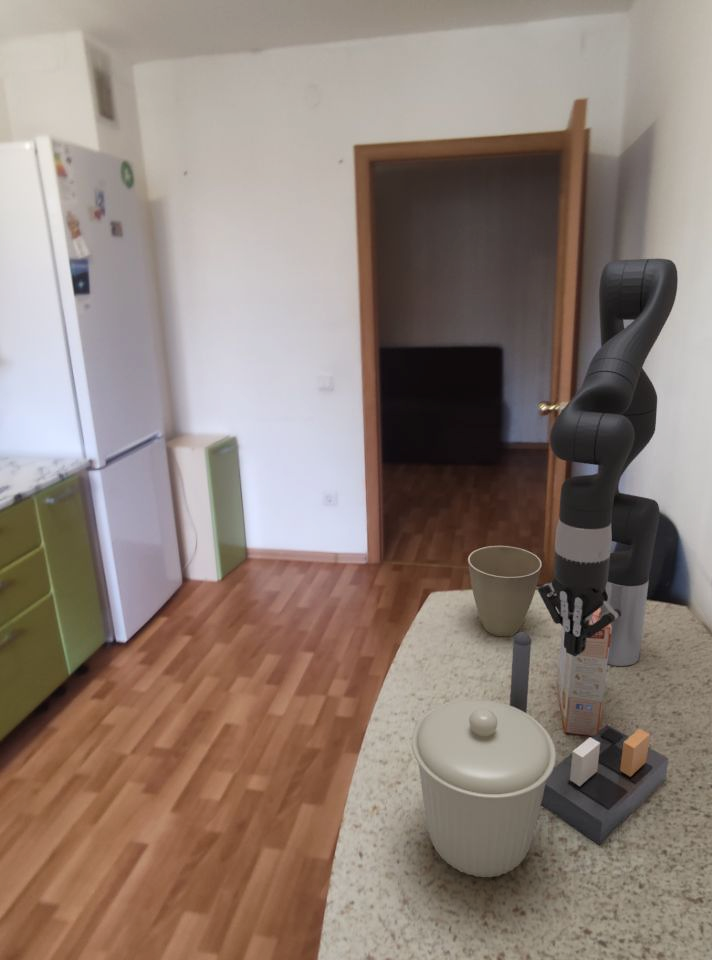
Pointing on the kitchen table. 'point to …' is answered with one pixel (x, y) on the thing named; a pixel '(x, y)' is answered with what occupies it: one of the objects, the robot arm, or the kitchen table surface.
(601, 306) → the robot arm
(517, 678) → the stand
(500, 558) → the plant pot
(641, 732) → the block
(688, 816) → the kitchen table surface
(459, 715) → the canister
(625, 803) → the panel
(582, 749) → the white rectangular block
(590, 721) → the cracker box
